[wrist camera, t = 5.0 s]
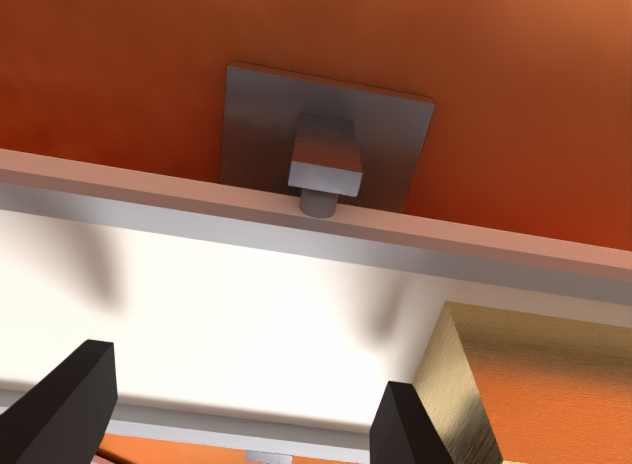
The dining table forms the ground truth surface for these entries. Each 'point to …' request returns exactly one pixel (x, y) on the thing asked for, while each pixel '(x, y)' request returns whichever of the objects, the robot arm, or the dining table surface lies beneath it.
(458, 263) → the beam
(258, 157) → the beam stand
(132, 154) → the dining table surface
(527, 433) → the brass bar
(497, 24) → the dining table surface
